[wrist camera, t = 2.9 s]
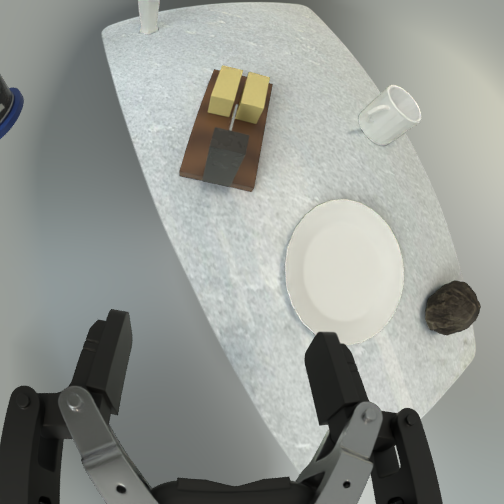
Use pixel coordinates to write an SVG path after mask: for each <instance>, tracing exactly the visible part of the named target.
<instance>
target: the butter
mask: <svg viewBox="0 0 504 504" xmlns="http://www.w3.org/2000/svg"><path fill="white" fill-rule="evenodd" d="M242 73H243V70H240V69H236V68H231V67H227V66H222V67H221V70H220V72H219V75H218V78H217V81H216V83H215V86H214V89H213V92H212V94H211V98H210V103H209V108H208V113H213V114H217V115H222V116H226V117H229V116H230V113H231V110H232V106H233V103H234V100H235V97H236V93H237V90H238V86H239V83H240V79H241V76H242ZM269 79H270V77H266V76H263V75H259V74H256V73H252V72H249V73H248V76H247V79H246V82H245V84H244V87H243V91H242V94H241V98H240V102H239V105H238V109H237V113H236V117H235V119H238V120H242V121H246V122H250V123H254V124H257V121H258V119H259V117H260V115H261V113H262V111H263V109H264V105H265V100H266V95H267V89H268V84H269Z"/></svg>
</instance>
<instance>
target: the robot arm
mask: <svg viewBox="0 0 504 504" xmlns="http://www.w3.org/2000/svg"><path fill="white" fill-rule="evenodd" d="M14 103H15V96H14V94H13V93H12V91H10V89H9V88H8V86H7V84H6V83H5V81H4V79H3V78H2V76H1V75H0V126H1V125H2V124H3V122H4V121H5V120H6V119H7V117H8V116H9V114H10V112H11V111H12V108H13V106H14ZM131 348H132V330H131V324H130V316H129V313H128V312H125V311H119V310H114V309H111V310H110V312H109V314H108V317H107V320H106V321H103V320H97V321H96V322H95V323H94V324H93V326H92V327H91V328H90V329H89V332H88V335H87V338H86V341H85V343H84V346H83V350H82V352H81V354H80V357H79V360H78V363H77V366H76V370H75V373H74V376H73V379H72V382H71V383H70V385H69V387H67V388H66V389H64V390H63V391H62V392H58V393H36V392H35V390H34V389H32V388H31V387H29V386H20V387H18V388H16V389H15V390H14V391H13V392H12V394H11V397H10V401H9V405H8V408H7V413H6V417H5V422H4V427H3V431H2V437H1V443H0V504H60V471H61V459H62V449H63V440H64V439H73V440H74V442H75V444H76V446H77V448H78V450H79V452H80V454H81V457H82V459H81V461H82V464H83V466H84V468H85V470H86V472H87V474H88V476H89V477H90V479H91V481H92V482H93V484H94V486H95V487H96V489H97V490H98V492H99V493H100V495H101V496H102V498H103V499H104V501H105V502H106V504H357V503H358V501H359V499H360V497H361V494H362V492H363V490H364V488H365V486H366V483H367V481H368V478H369V476H370V474H371V478H372V483H373V489H374V495H375V500H376V504H442V498H441V493H440V488H439V484H438V480H437V475H436V471H435V468H434V463H433V460H432V456H431V452H430V449H429V445H428V442H427V439H426V435H425V432H424V429H423V426H422V423H421V420H420V417H419V415H418V413H417V412H416V411H415V410H413V409H411V408H404V409H402V410H401V411H400V412H398V413H392V412H385V411H381V410H380V408H379V407H378V406H377V405H376V404H374V403H372V402H370V401H369V400H368V397H367V394H366V391H365V389H364V386H363V383H362V380H361V377H360V375H359V372H358V371H357V370H358V369H357V366H356V364H355V361H354V358H353V355H352V353H351V351H350V350H349V349H348V348H347V346H346V345H345V344H344V343H340V341H339V338H338V336H337V334H336V333H335V332H318V333H317V334H316V336H315V337H314V339H313V341H312V342H311V344H310V346H309V347H308V349H307V351H306V353H305V366H306V370H307V375H308V379H309V383H310V387H311V391H312V395H313V400H314V404H315V408H316V413H317V417H318V421H319V426H320V425H328V426H329V430H328V431H327V432H326V434H325V436H324V438H323V440H322V442H321V444H320V446H319V448H318V450H317V451H316V453H315V455H314V457H313V459H312V460H311V462H310V463H309V465H308V466H307V467H306V468H305V469H304V470H303V471H302V472H301V474H300V475H299V477H298V478H297V480H296V481H290V478H289V477H282V478H272V479H262V480H259V481H255V482H252V483H248V484H245V485H241V486H230V485H225V484H221V483H217V482H213V481H209V480H201V479H187V478H177V481H171V482H167V483H163V484H160V485H158V486H156V487H154V488H151V486H150V485H149V484H148V482H147V481H146V480H145V478H144V477H143V476H142V474H141V473H140V471H139V470H138V469H137V468H136V466H135V465H134V463H133V462H132V461H131V459H130V458H129V456H128V455H127V453H126V452H125V450H124V448H123V447H122V445H121V444H120V442H119V440H118V439H117V437H116V435H115V434H114V432H113V430H112V429H111V427H110V425H109V420H110V414H114V415H118V412H119V406H120V400H121V394H122V390H123V384H124V379H125V375H126V369H127V365H128V360H129V356H130V352H131ZM395 445H396V447H397V451H398V455H399V459H400V464H401V467H400V468H399V463H398V459H397V455H396V451H395V447H394V446H395Z"/></svg>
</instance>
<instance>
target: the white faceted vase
mask: <svg viewBox="0 0 504 504" xmlns="http://www.w3.org/2000/svg"><path fill="white" fill-rule="evenodd" d="M159 3H160V0H138V6H139V14H140V22H141V28H140V33H143V34H147V35H149V34H151V33H154V32H156V31H158V27H157V18H158V10H159Z"/></svg>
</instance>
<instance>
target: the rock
mask: <svg viewBox="0 0 504 504" xmlns="http://www.w3.org/2000/svg"><path fill="white" fill-rule="evenodd" d="M480 307H481V306H480V303H479V301H478V300H477V296H476V294H475V292H474V291H473V290H472V289H471V288H470V286H468V284H467V283H465V282H460V281H452V282H450V283H449V284H445V285H444V286H442V287H441V288H440V289H438V290H437V291H436V293H435V294H433V295H432V296H431V297H430V298H429V299H428V302H427V308H426V314H425V320H426V322H427V325H428V327H429V329H430V330H434V331H436V332H438V333H440V334H443V335H449V334H453V333H456V332H461V331H463V330H465V329H467V328H468V327H469V326H470V325H471V324H472V323H473V322H474V321H475V320H476V319H477V317H478V314H479V311H480Z"/></svg>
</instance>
